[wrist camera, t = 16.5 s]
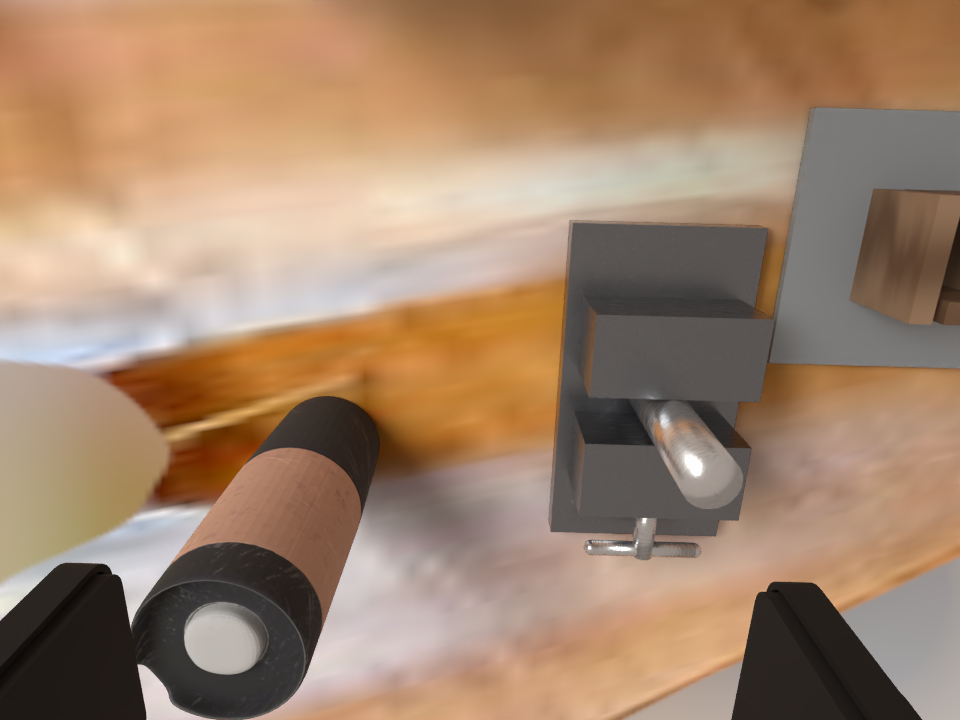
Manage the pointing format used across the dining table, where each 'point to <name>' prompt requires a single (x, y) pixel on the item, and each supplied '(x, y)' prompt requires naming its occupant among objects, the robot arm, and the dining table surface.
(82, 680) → the robot arm
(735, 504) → the vise
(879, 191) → the collar
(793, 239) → the mat
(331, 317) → the dining table surface
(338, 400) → the travel mug
